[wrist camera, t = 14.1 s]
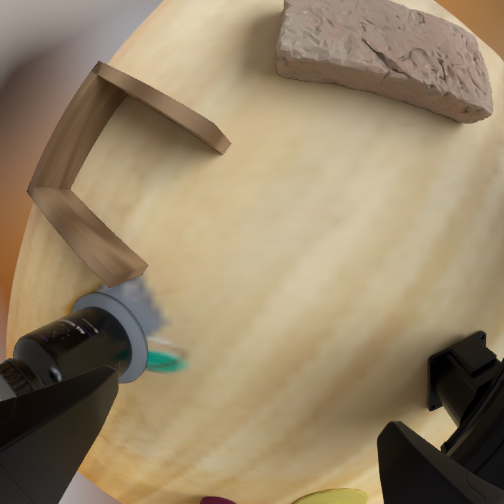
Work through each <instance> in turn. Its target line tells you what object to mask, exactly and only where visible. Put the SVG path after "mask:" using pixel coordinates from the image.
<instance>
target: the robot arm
mask: <svg viewBox="0 0 504 504" xmlns="http://www.w3.org/2000/svg"><path fill="white" fill-rule="evenodd" d="M481 336H482V337H481ZM496 357H497V356H496V354H494V353H493V352H492V351H491V350H489V349H488V348H487V347H486V333H485V332H484V331H480V332H478V333H476V334H475V335H473V336H471V337H469V338H467V339H465V340H463V341H461V342H459V343H457V344H456V345H454V346H452V347H450V348H448V349H446V350H444V351H441V352H439V353H437V354H435V355H433V356H431V357H430V358H429V360H428V403H427V408H428V410H429V411H433V410H435V409H438V408H440V407H442V406H444V408H445V409H446V411H447V412H448V414H449V415H450V417H451V418H452V420H453V421H454V423H455V424H456V426H457V427H458V428H457V430H456V431H455V432H454V433H453V434H452V436H451V437H450V438H449V439H448V440H447V441H446V442H444V443H443V445H442V446H441V447H440V448H441V451H440V450H438V449H437V448H436V447H434V446H433V445H431V444H430V443H429V442H427V441H426V440H425V439H423V438H422V437H421V436H419V435H418V434H417V433H415V432H414V431H413V430H411V429H410V428H409V427H407V426H406V425H405V424H403V423H402V422H401V421H391V422H389V423H388V424H387V425H386V427H385V428H384V429H383V431H382V432H381V433H380V435H379V436H378V438H377V449H378V461H379V474H380V481H381V487H382V493H383V499H384V504H504V358H503V360H502V362H501V361H499V360H498V359H497V358H496ZM434 360H435V361H434ZM433 361H434V362H433ZM432 362H433V363H432ZM117 393H118V371H117V370H116V369H115V368H112V367H110V366H108V365H103V366H101V367H98V368H96V369H93V370H90V371H88V372H85V373H82V374H80V375H77V376H74V377H72V378H69V379H66V380H63V381H60V382H58V383H55V384H52V385H49V386H46V387H43V388H40V389H37V390H34V391H31V392H28V393H25V394H22V395H19V396H17V397H13V398H9V399H6V400H3V401H0V504H58V503H59V501H60V500H61V498H62V496H63V494H64V492H65V491H66V489H67V487H68V485H69V484H70V482H71V480H72V478H73V477H74V475H75V473H76V472H77V470H78V468H79V466H80V465H81V463H82V461H83V460H84V458H85V456H86V455H87V453H88V451H89V449H90V448H91V446H92V444H93V443H94V441H95V440H96V438H97V436H98V435H99V433H100V431H101V429H102V427H103V425H104V423H105V420H106V418H107V416H108V413H109V411H110V409H111V407H112V405H113V402H114V400H115V398H116V396H117Z"/></svg>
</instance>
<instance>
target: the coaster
mask: <svg viewBox="0 0 504 504" xmlns="http://www.w3.org/2000/svg"><path fill="white" fill-rule="evenodd" d="M89 306H96V307H100V308H103V309H105V310H107V311H108V312H110V313H111V314H113V315H114V316H115V317H116V318H117V319H118V320H119V321H120V323H121V324H122V325H123V327H124V328H125V330H126V332H127V334H128V336H129V339H130V341H131V345H132V362H131V364H130V367H129V368H128V370H127V371H126V372H125V373H124V374H123V375H122V376H121V377H120V378H118V383H129V382H132V381H134V380H136V379H137V378H138V377H139V376H140V375H141V374H142V373H143V371H144V370H145V368H146V365H147V362H148V347H147V342H146V339H145V336H144V333H143V331H142V329H141V327H140V325H139V323H138V321H137V320H136V318H135V317H134V316H133V314H132V313H131V312H130V311H129V310H128V309H127V308H126V307H125V306H124V305H123V304H122V303H121V302H119V301H118V300H117V299H115V298H113V297H111V296H109V295H107V294H103V293H90V294H88V295H85V296H83V297H81V298H80V299H78V301H77V302H76V303H75V304H74V306H73V309H72V311H71V313H74V312H76V311H78V310H81V309H83V308H86V307H89Z"/></svg>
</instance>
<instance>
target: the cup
mask: <svg viewBox="0 0 504 504" xmlns="http://www.w3.org/2000/svg"><path fill="white" fill-rule="evenodd" d="M200 504H235V503H234V502H232V501H230V500H227V499H224V498H220V497H205V498H203V499H202V500H201V502H200Z"/></svg>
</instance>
